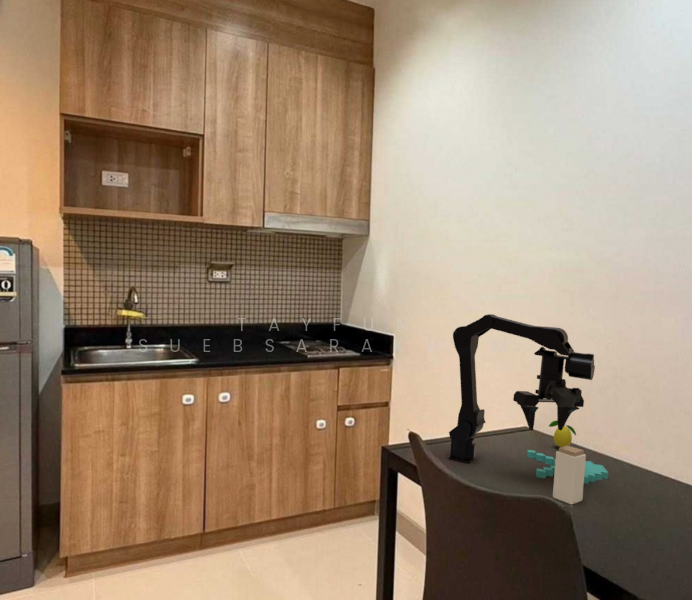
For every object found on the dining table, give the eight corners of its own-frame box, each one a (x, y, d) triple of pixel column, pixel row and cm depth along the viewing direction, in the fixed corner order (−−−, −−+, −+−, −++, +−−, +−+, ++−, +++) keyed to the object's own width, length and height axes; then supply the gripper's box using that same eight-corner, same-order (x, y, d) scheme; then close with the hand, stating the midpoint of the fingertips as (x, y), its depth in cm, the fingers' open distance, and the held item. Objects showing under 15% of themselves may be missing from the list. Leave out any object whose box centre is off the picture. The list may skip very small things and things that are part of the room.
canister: (552, 497, 132) (556, 447, 132) (563, 493, 135) (567, 445, 135) (571, 504, 128) (575, 453, 128) (582, 500, 131) (586, 450, 131)
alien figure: (536, 479, 146) (615, 489, 142) (537, 471, 146) (615, 481, 142) (527, 456, 166) (595, 465, 162) (527, 449, 166) (595, 458, 162)
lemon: (546, 446, 177) (549, 416, 176) (559, 445, 179) (562, 415, 179) (562, 452, 171) (565, 422, 170) (575, 451, 173) (578, 421, 173)
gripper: (540, 378, 134) (533, 439, 135) (601, 380, 139) (595, 439, 140) (515, 370, 145) (509, 426, 145) (572, 372, 150) (567, 426, 150)
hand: (545, 429), depth 145 cm, fingers open, 9 cm apart
